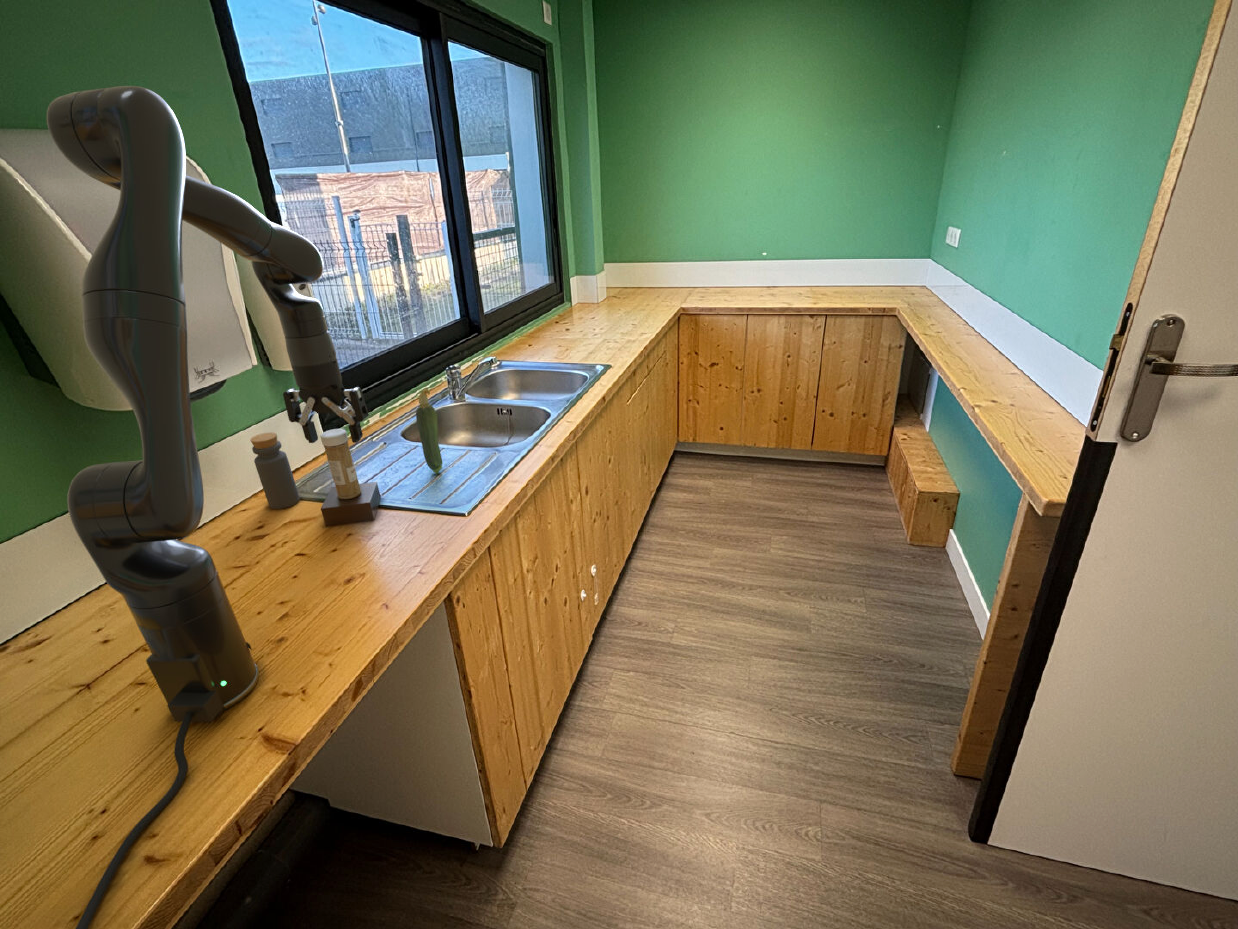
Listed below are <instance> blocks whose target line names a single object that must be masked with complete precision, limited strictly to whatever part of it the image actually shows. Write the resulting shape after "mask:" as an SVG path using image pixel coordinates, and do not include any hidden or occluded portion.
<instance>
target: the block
mask: <svg viewBox="0 0 1238 929" xmlns="http://www.w3.org/2000/svg"><path fill="white" fill-rule="evenodd" d="M359 486H360V488H361V493H360V494H359V495H358V496H356V497H354V498H351V499H340V498H338V496H337V490H336V486H331V487H330V489H329V490H328V493H327V495H326V497H325V499H324V501H323V503H322V505H321V507H320V512H321V515H322V518H323V521H324V522H323V523H324V526H325V527H332V526H340V525H346V524H355V523H364V522H369V521H375V518H376V517H377V512H378V509H379V506H380V503H381V500H382V497H381V492H380V488H379V485H378V481H372V482H371V481H370V482H363V483H362V482H361V483H359Z"/></svg>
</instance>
